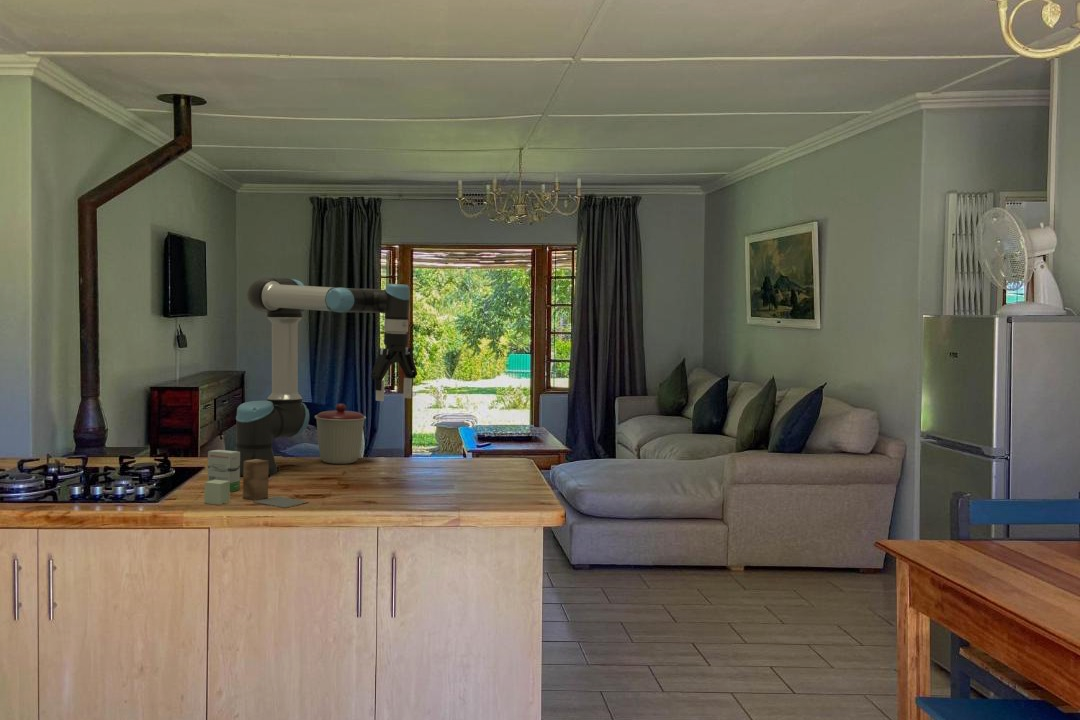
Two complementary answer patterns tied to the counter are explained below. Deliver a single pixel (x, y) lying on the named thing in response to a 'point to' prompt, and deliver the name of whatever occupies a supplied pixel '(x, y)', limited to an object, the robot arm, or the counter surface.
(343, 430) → the canister
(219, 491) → the sage block
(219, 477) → the ink box
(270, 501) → the mat
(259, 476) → the walnut block
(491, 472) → the counter surface
